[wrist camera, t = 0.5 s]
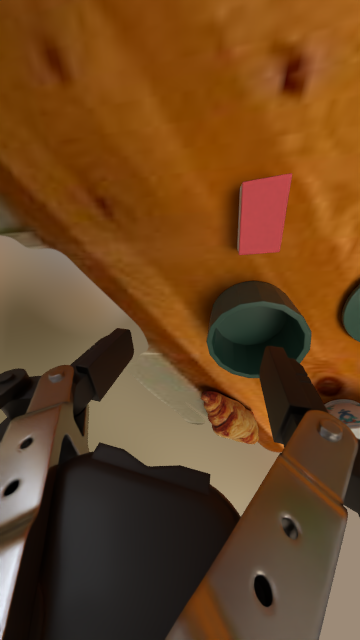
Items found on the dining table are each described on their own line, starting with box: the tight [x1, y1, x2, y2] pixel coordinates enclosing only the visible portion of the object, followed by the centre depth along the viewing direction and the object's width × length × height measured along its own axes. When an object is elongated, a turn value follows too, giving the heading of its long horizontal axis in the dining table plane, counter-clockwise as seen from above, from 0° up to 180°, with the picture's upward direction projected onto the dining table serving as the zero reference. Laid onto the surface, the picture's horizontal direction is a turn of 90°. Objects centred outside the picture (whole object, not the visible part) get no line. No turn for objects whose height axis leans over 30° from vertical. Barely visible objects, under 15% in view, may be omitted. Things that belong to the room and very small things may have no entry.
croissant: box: [201, 391, 259, 444], centre depth 40 cm, size 21×10×8 cm, turn 44°
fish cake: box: [237, 173, 292, 255], centre depth 20 cm, size 7×4×4 cm, turn 7°
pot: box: [207, 281, 311, 378], centre depth 25 cm, size 12×12×8 cm
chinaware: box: [325, 399, 360, 439], centre depth 31 cm, size 15×15×8 cm
